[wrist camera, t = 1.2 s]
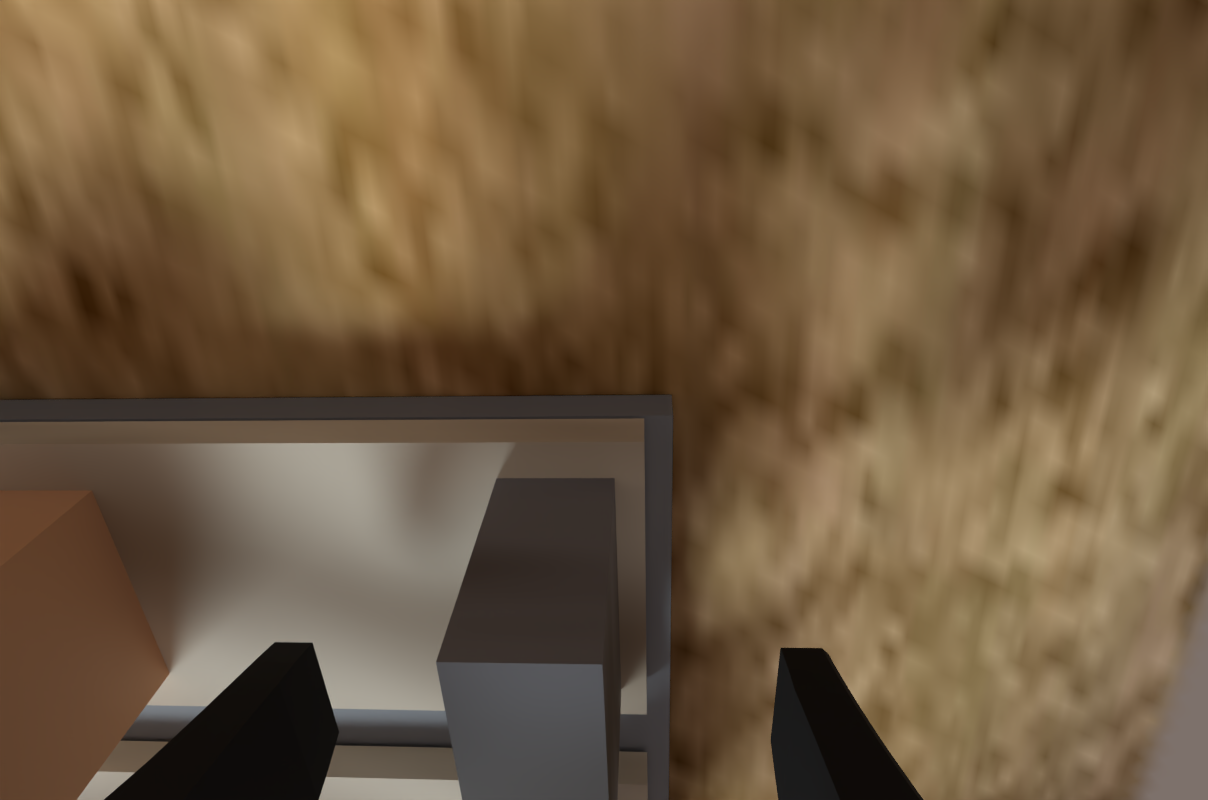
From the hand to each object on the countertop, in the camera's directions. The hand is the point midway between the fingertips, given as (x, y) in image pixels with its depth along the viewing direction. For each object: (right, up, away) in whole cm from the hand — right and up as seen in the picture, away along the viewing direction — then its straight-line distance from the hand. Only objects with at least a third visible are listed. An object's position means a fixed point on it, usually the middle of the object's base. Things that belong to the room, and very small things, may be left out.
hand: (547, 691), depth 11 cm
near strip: (-6, +1, +3) cm, 7 cm away
